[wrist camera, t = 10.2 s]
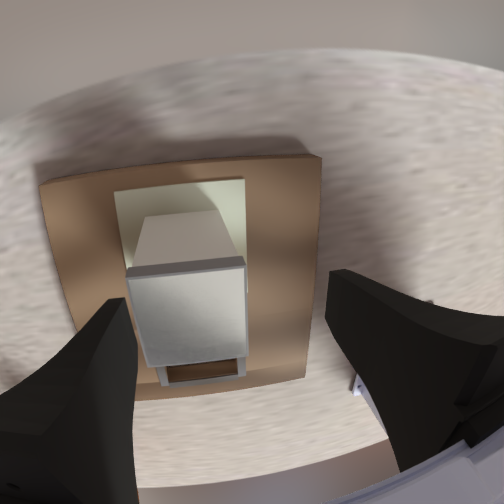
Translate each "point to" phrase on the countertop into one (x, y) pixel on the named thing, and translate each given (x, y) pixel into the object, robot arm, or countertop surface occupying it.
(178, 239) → the plug
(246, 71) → the countertop surface
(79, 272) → the brown board with panel
